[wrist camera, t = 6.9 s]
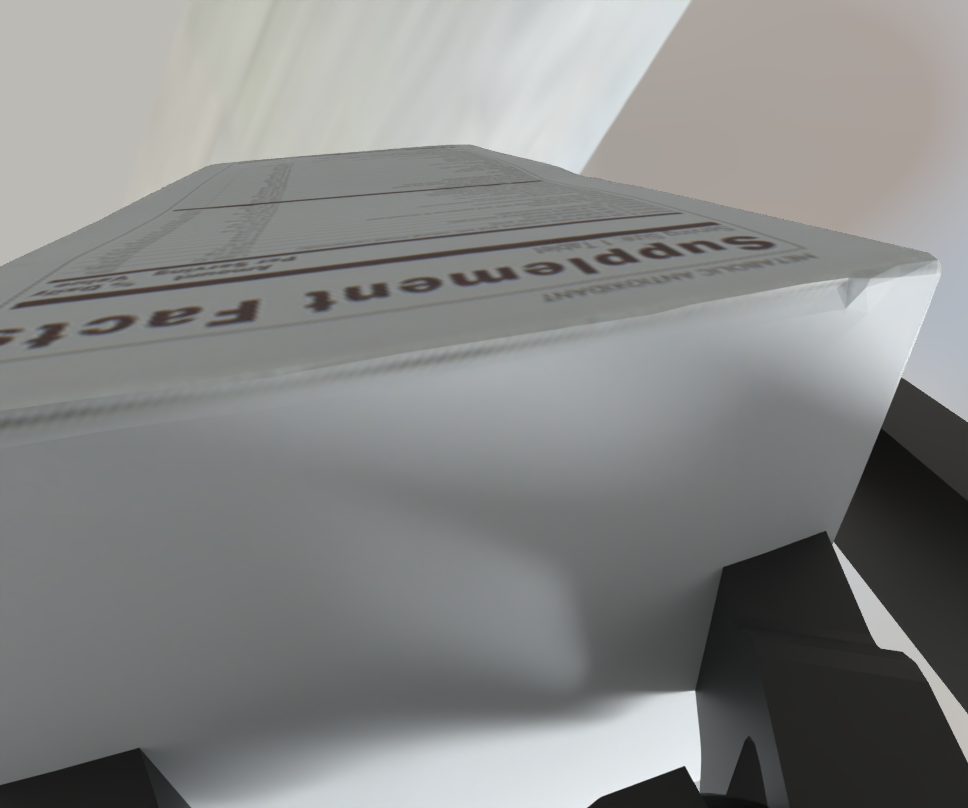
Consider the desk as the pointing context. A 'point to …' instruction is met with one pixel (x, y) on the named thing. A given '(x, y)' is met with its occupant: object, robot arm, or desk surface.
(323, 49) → the desk surface
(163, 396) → the supplement box
